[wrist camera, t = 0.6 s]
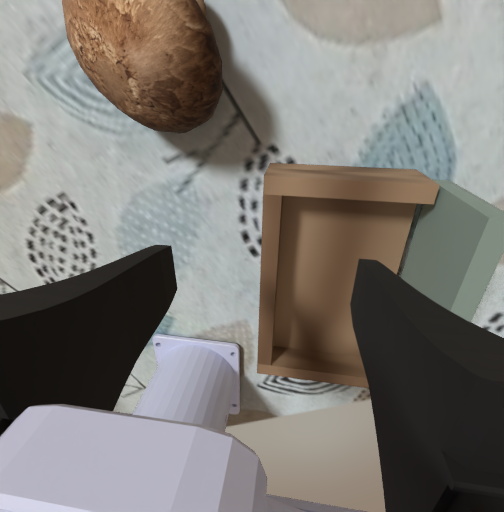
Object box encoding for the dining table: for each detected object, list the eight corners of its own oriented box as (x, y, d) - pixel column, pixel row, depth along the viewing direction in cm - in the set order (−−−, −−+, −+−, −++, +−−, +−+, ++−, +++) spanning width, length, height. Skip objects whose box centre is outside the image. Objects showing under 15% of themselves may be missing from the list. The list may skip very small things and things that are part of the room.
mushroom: (196, -148, 11) (80, -93, 8) (279, 72, 16) (223, 146, 14) (96, -41, 16) (3, 14, 13) (185, 101, 21) (131, 160, 19)
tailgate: (374, 366, 23) (394, 443, 18) (429, 179, 16) (489, 217, 11) (387, 367, 23) (412, 446, 18) (449, 180, 16) (518, 219, 11)
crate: (262, 340, 26) (257, 373, 23) (270, 163, 19) (263, 175, 16) (366, 353, 25) (375, 388, 22) (416, 169, 18) (440, 184, 15)
